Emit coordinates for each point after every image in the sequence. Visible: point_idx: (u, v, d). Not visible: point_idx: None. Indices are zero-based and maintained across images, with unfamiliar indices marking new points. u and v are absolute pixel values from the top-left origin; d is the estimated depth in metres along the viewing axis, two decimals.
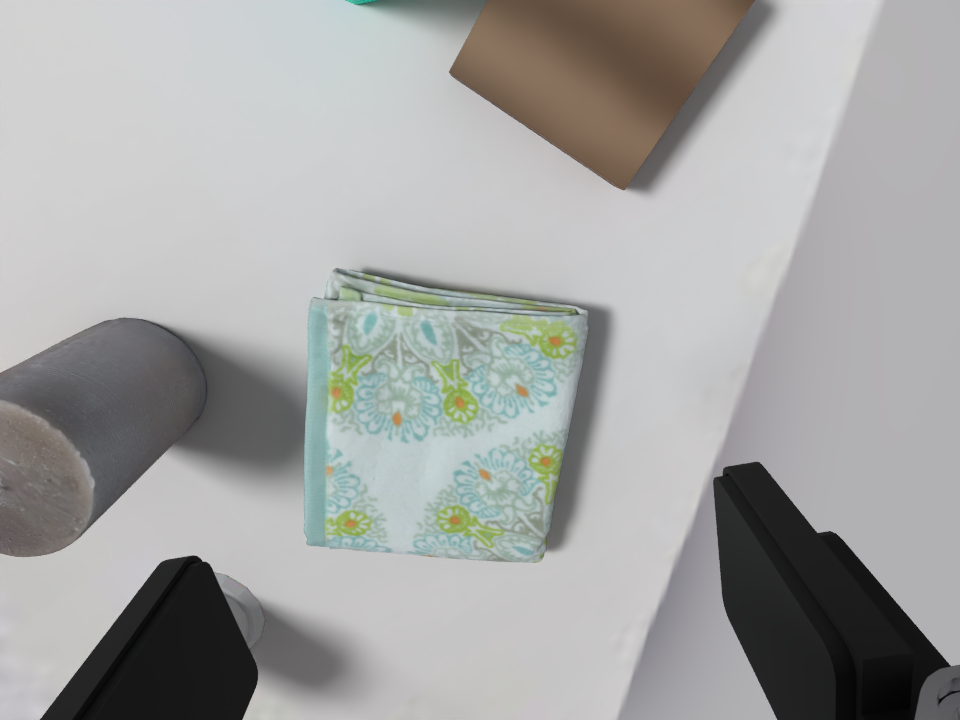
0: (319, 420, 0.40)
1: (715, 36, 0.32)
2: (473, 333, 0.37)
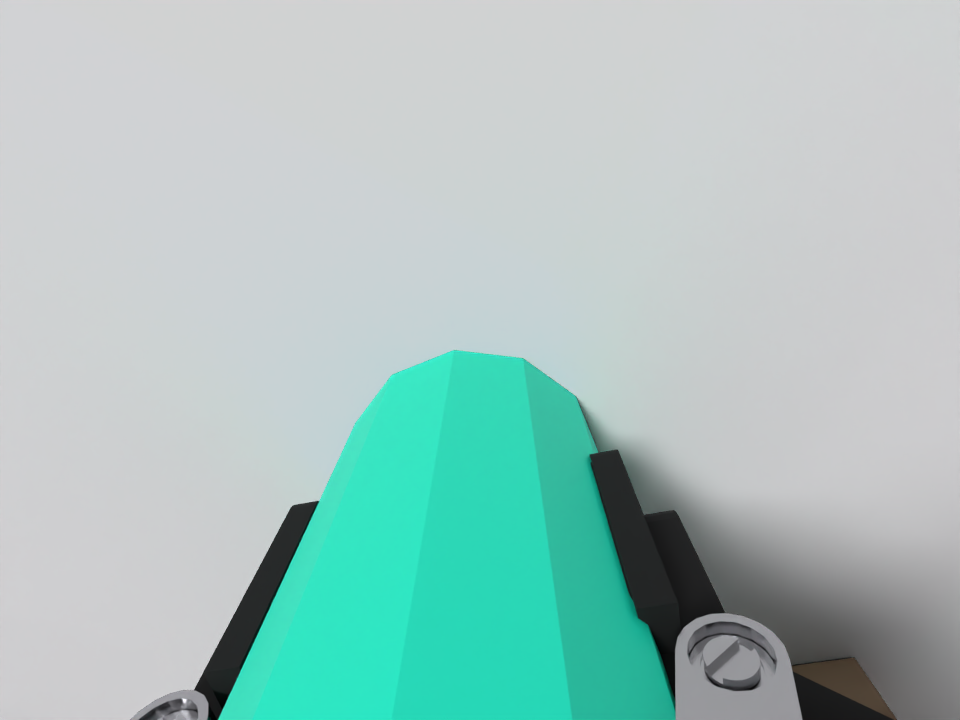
0: None
1: None
2: None
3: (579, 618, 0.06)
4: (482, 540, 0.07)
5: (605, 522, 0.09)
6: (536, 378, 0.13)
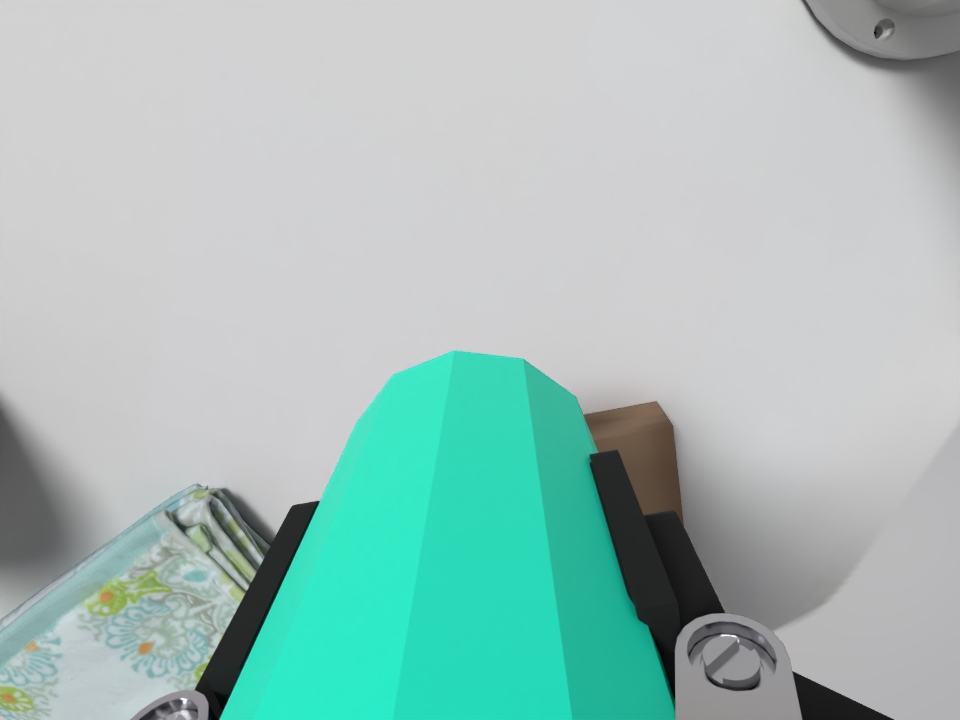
0: (65, 604, 0.33)
1: None
2: None
3: (578, 617, 0.07)
4: (483, 540, 0.07)
5: (604, 521, 0.09)
6: (536, 378, 0.13)
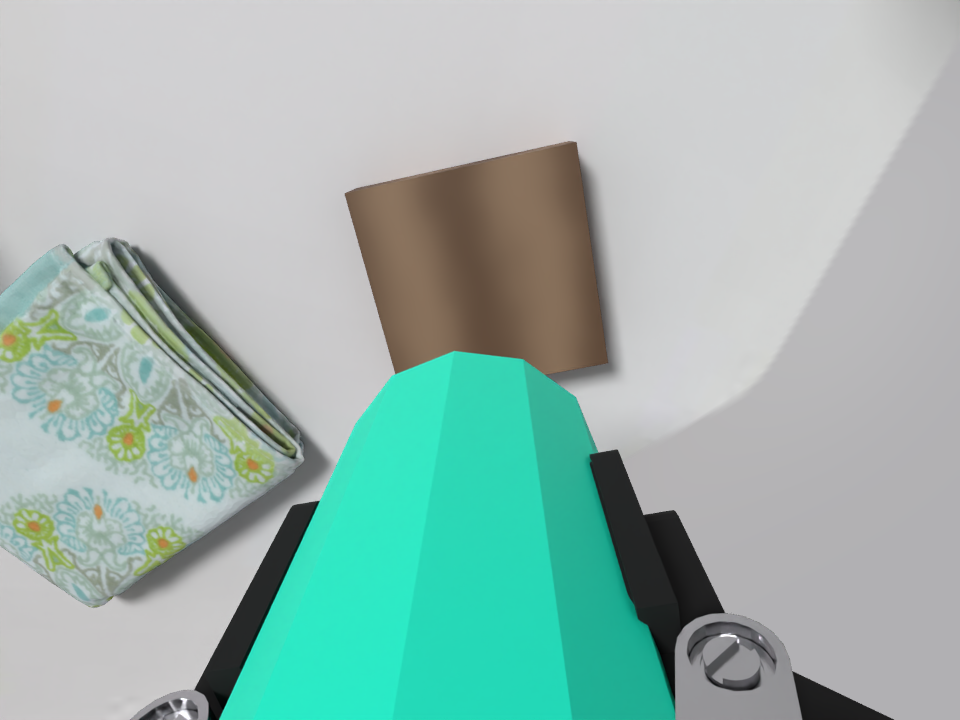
0: None
1: (554, 362, 0.34)
2: (186, 401, 0.34)
3: (579, 620, 0.06)
4: (482, 542, 0.07)
5: (605, 523, 0.09)
6: (536, 379, 0.13)
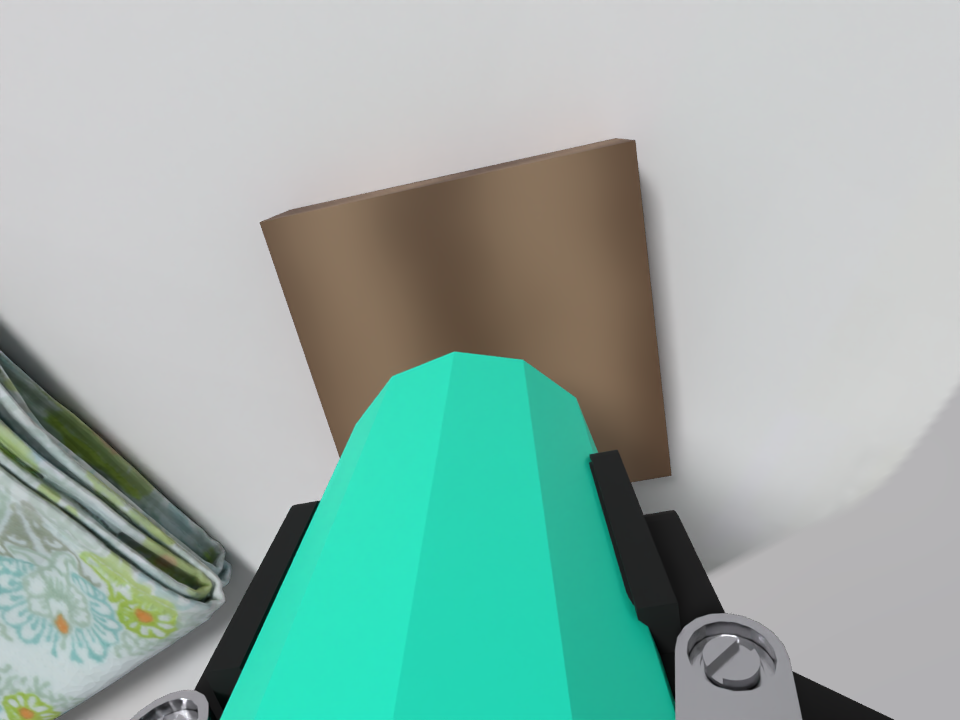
0: None
1: None
2: (38, 531, 0.23)
3: (580, 621, 0.06)
4: (482, 543, 0.07)
5: (605, 524, 0.09)
6: (536, 379, 0.13)
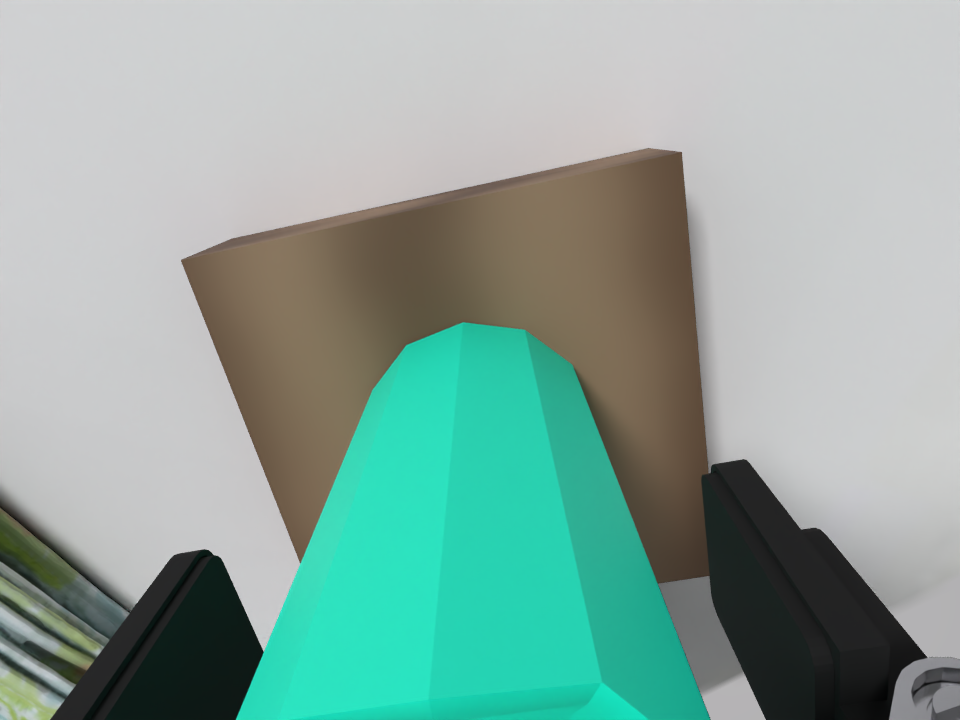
0: None
1: None
2: None
3: (581, 517, 0.08)
4: (499, 462, 0.09)
5: (600, 458, 0.10)
6: (537, 346, 0.14)
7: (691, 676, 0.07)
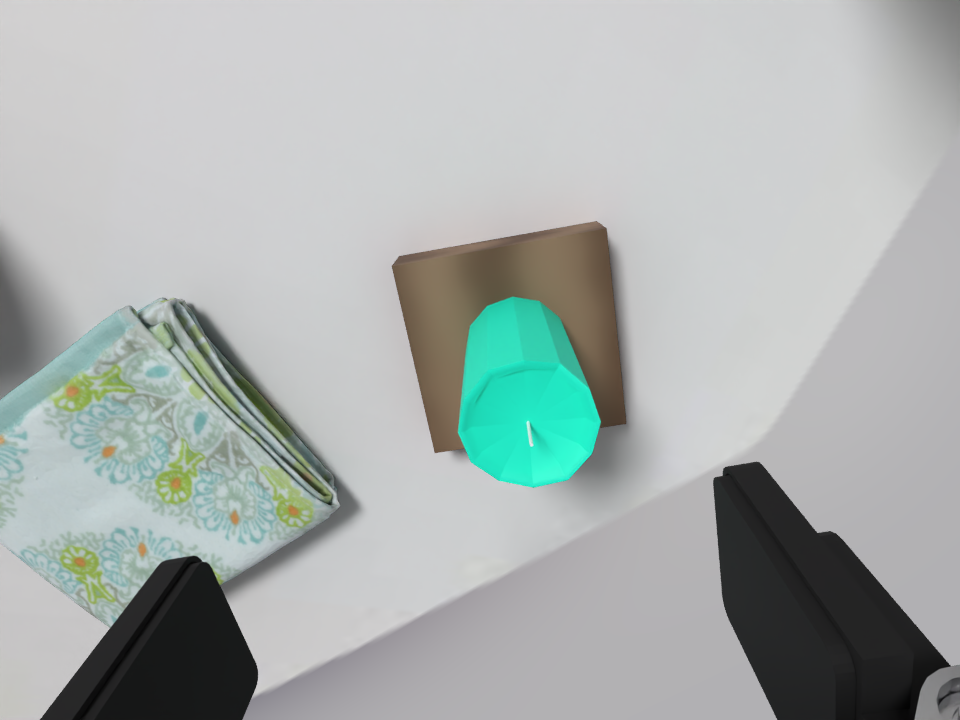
0: (33, 397, 0.35)
1: None
2: (235, 452, 0.36)
3: (558, 346, 0.27)
4: (533, 333, 0.28)
5: (567, 342, 0.29)
6: (545, 307, 0.33)
7: (584, 377, 0.25)
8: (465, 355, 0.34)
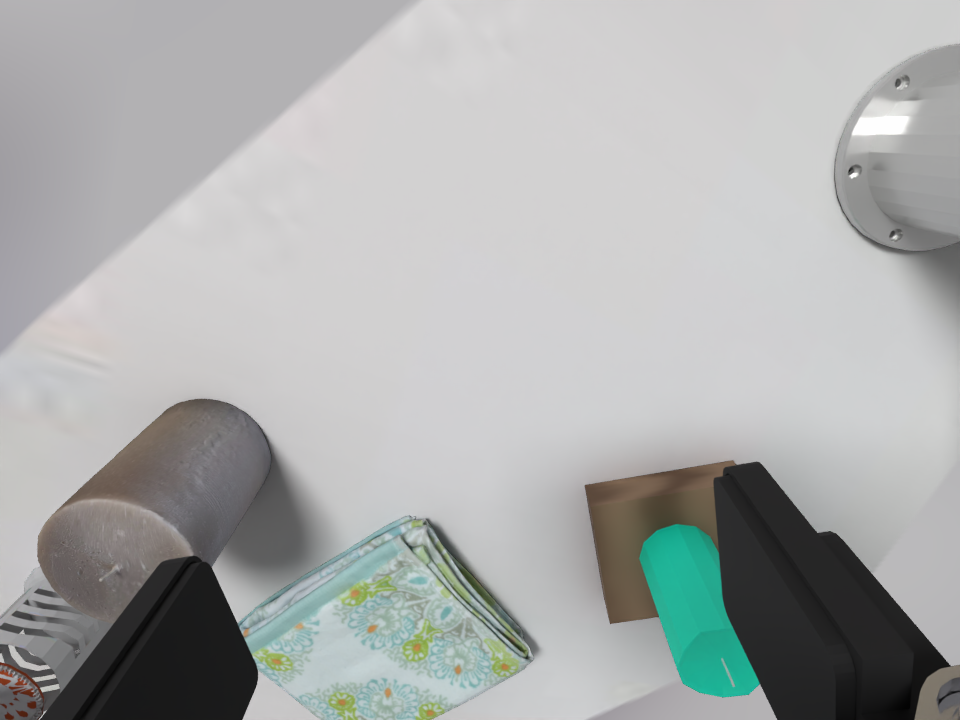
0: (326, 597, 0.48)
1: None
2: (467, 629, 0.49)
3: None
4: (714, 584, 0.40)
5: None
6: (701, 533, 0.46)
7: None
8: (643, 567, 0.47)
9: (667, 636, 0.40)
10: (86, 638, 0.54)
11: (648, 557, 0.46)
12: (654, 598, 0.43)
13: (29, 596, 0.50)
